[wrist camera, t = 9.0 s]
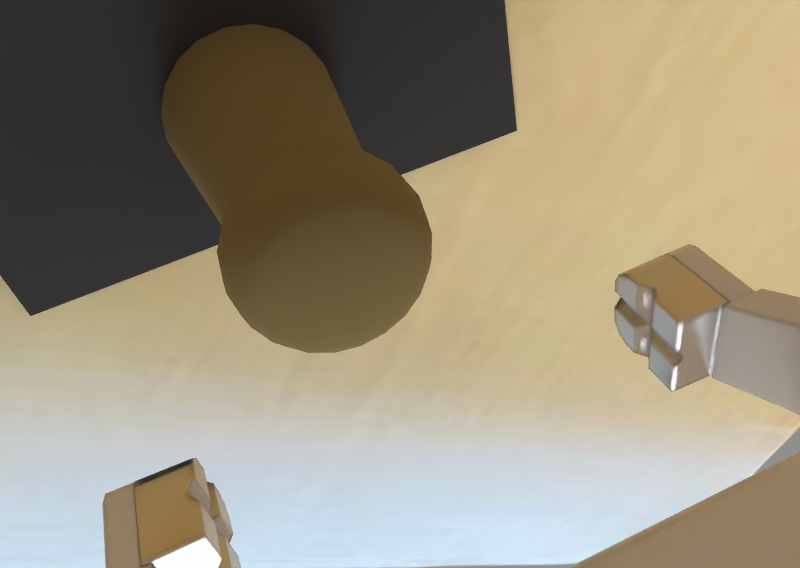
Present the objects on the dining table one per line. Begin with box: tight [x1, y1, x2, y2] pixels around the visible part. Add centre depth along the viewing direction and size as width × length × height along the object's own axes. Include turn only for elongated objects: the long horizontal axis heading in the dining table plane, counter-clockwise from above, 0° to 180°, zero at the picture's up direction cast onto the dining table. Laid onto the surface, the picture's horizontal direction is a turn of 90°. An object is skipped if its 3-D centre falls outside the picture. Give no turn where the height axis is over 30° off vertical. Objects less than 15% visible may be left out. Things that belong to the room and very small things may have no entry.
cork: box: [161, 24, 432, 353], centre depth 20 cm, size 6×6×11 cm
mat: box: [0, 0, 517, 316], centre depth 23 cm, size 11×20×1 cm, turn 102°
